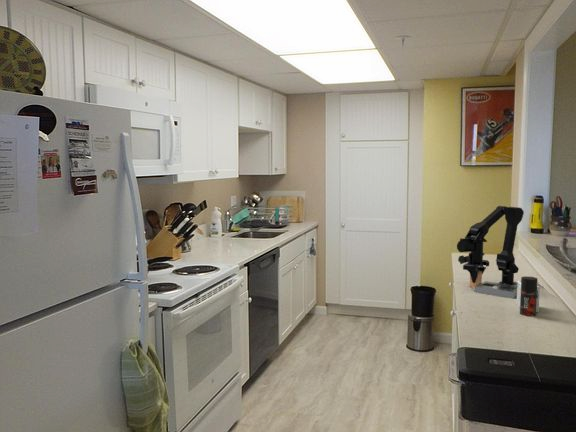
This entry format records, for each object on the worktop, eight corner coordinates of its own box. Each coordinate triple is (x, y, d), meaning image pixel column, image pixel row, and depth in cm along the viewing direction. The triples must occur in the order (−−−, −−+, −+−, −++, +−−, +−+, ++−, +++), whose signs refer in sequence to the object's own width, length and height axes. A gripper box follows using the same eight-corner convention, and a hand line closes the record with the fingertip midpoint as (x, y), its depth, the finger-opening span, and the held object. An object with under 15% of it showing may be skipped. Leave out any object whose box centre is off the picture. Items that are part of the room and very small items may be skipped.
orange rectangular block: (473, 285, 260) (473, 270, 259) (481, 286, 257) (481, 271, 256) (469, 287, 257) (470, 271, 256) (478, 288, 254) (478, 272, 253)
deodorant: (535, 313, 211) (537, 277, 209) (536, 317, 205) (538, 280, 204) (519, 311, 213) (521, 276, 211) (520, 315, 207) (521, 278, 206)
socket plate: (485, 287, 256) (486, 279, 256) (523, 293, 244) (523, 285, 244) (474, 292, 246) (474, 284, 246) (513, 298, 234) (513, 290, 233)
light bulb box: (539, 312, 212) (540, 286, 211) (521, 311, 213) (522, 286, 212) (532, 305, 222) (533, 281, 221) (515, 304, 223) (516, 280, 222)
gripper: (468, 247, 267) (467, 276, 269) (453, 251, 253) (452, 282, 255) (490, 249, 260) (489, 279, 261) (475, 254, 246) (474, 286, 247)
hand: (475, 281), depth 256 cm, fingers open, 5 cm apart
